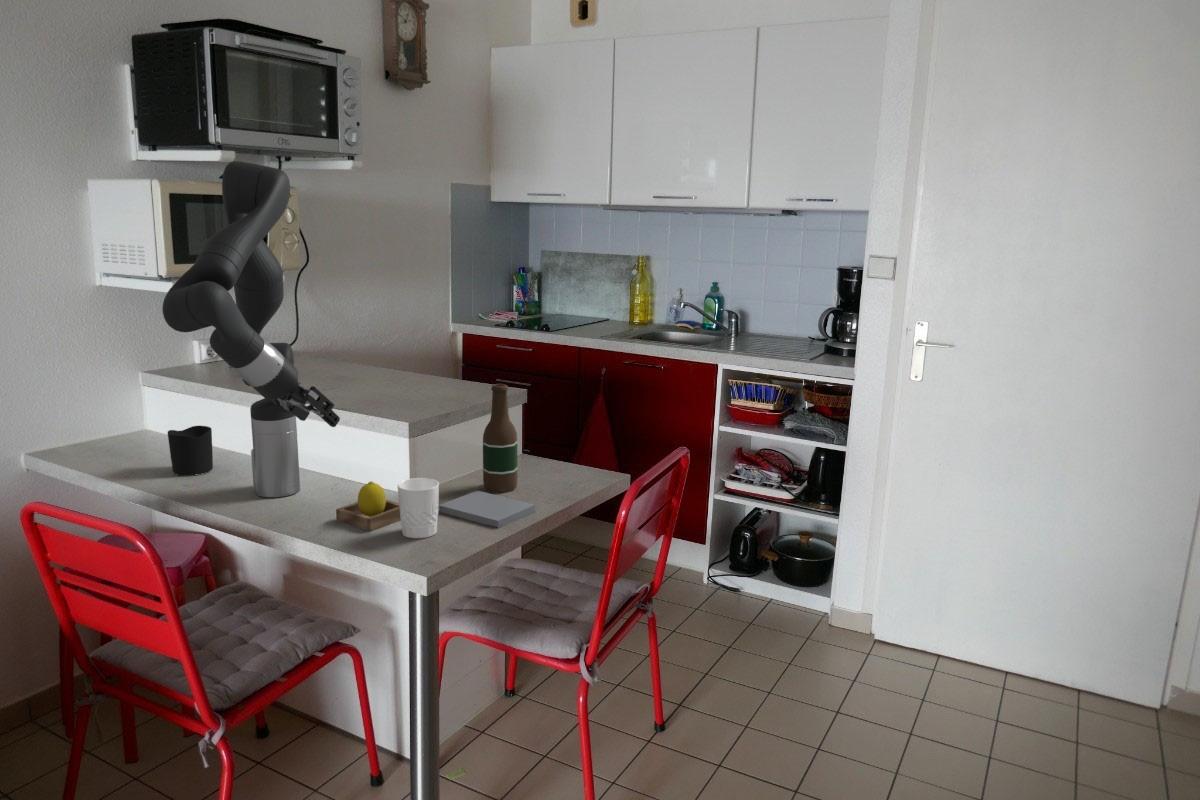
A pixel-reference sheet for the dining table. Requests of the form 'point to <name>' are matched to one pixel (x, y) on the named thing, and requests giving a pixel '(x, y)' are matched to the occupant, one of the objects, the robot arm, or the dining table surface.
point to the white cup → (418, 507)
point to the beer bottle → (500, 446)
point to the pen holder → (191, 450)
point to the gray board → (487, 508)
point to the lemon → (371, 499)
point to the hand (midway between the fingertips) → (320, 419)
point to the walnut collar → (357, 519)
